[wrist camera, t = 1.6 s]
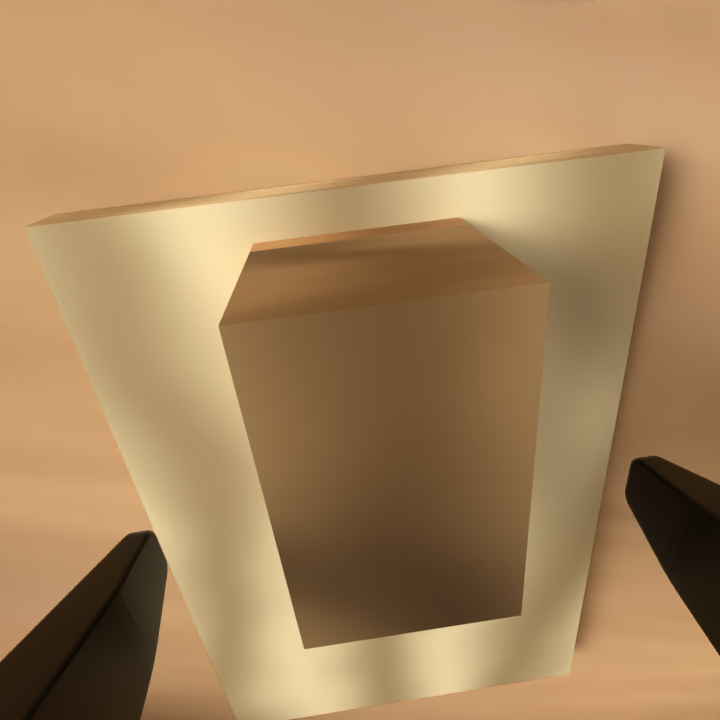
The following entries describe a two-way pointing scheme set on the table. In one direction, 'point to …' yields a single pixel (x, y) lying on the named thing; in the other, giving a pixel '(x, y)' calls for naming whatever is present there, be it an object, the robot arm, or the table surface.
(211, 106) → the table surface
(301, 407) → the block
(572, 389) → the pine board
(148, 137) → the table surface
